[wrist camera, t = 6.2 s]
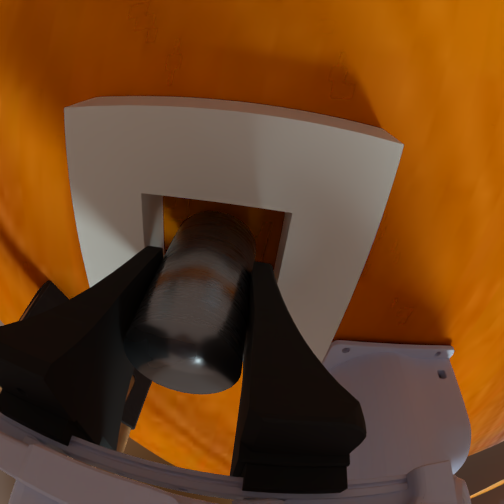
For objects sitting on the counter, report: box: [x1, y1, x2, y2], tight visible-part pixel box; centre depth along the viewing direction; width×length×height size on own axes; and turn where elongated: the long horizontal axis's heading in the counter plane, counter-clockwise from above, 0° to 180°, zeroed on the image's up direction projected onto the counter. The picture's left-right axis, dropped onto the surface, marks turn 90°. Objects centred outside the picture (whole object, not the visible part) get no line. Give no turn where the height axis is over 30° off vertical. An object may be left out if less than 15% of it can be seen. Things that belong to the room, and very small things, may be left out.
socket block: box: [64, 96, 404, 363], centre depth 14 cm, size 12×12×2 cm
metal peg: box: [124, 211, 256, 394], centre depth 11 cm, size 4×4×6 cm
